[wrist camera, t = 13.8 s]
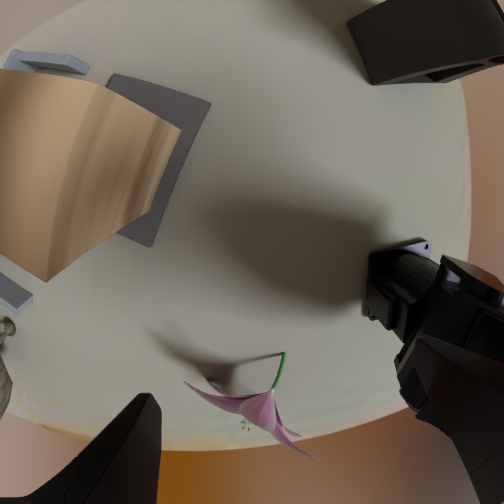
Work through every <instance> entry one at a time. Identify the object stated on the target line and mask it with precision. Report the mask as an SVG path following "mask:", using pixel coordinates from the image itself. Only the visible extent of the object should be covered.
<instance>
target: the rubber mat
mask: <svg viewBox="0 0 504 504" xmlns="http://www.w3.org/2000/svg"><path fill="white" fill-rule="evenodd" d="M107 89H109V90H111V91H113V92H115V93H117V94H119V95H121V96H123V97H124V98H126V99H128V100H130V101H132V102H134V103H135V104H137V105H139V106H141V107H143V108H144V109H146V110H148V111H150V112H151V113H153V114H155V115H157V116H158V117H160V118H162V119H164V120H165V121H167V122H169V123H170V124H172V125H174V126H175V127H177V128H179V129H180V130H182V131H181V133H180V135H179V137H178V140H177V142H176V144H175V146H174V149H173V151H172V153H171V156H170V158H169V160H168V163H167V165H166V168H165V170H164V172H163V175H162V177H161V180H160V183H159V185H158V188H157V190H156V193H155V196H154V198H153V201H152V204H151V207H150V210H149V211H148V212H147V213H145V214H143V215H142V216H140V217H138V218H137V219H135V220H134V221H132V222H131V223H129V224H127V225H126V226H124V227H123V228H121V229H120V230H118V231H117V232H116V233H118V234H120V235H122V236H125V237H127V238H129V239H131V240H134V241H136V242H138V243H140V244H143V245H145V246H147V247H151V246H152V244H153V241H154V238H155V236H156V233H157V230H158V227H159V224H160V221H161V219H162V216H163V213H164V211H165V208H166V205H167V203H168V200H169V198H170V195H171V193H172V190H173V188H174V185H175V183H176V180H177V178H178V175H179V173H180V171H181V168H182V166H183V164H184V161H185V159H186V157H187V155H188V152H189V150H190V148H191V146H192V144H193V141H194V139H195V137H196V135H197V133H198V131H199V129H200V127H201V124H202V122H203V120H204V118H205V116H206V114H207V112H208V110H209V108H210V106H211V103H210V102H207V101H204V100H202V99H199V98H196V97H193V96H190V95H188V94H185V93H182V92H179V91H176V90H173V89H170V88H166V87H163V86H160V85H157V84H153V83H150V82H146V81H143V80H139V79H135V78H131V77H128V76H123V75H119V74H115V73H114V75H113V77H112V79H111V81H110V83H109V85H108V87H107Z"/></svg>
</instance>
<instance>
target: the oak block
mask: <svg viewBox="0 0 504 504" xmlns="http://www.w3.org/2000/svg"><path fill="white" fill-rule="evenodd" d="M181 131H182V130H180V129H179V128H177V127H175V126H174V125H172V124H170V123H169V122H167V121H165V120H164V119H162V118H160V117H158V116H157V115H155V114H153V113H151V112H150V111H148V110H146V109H144V108H143V107H141V106H139V105H137V104H135V103H134V102H132V101H130V100H128V99H126V98H124V97H123V96H121V95H119V94H117V93H115V92H113V91H111V90H109V89H107V88H106V87H104V86H102V85H100V84H97V83H93V82H88V81H84V80H79V79H74V78H68V77H63V76H57V75H51V74H44V73H37V72H29V71H19V70H7V69H0V253H1V254H2V255H4V256H5V257H7V258H8V259H10V260H11V261H13V262H14V263H16V264H17V265H19V266H20V267H22V268H23V269H25V270H26V271H28V272H29V273H31V274H33V275H34V276H36V277H37V278H39V279H41V280H42V281H44V282H48V281H49V280H50V279H51V278H53V277H54V276H55V275H57V274H58V273H59V272H61V271H62V270H63V269H64V268H66V267H67V266H68V265H70V264H71V263H72V262H74V261H75V260H77V259H78V258H79V257H81V256H82V255H83V254H85V253H86V252H88V251H89V250H90V249H92V248H93V247H95V246H96V245H98V244H99V243H100V242H102V241H103V240H105V239H106V238H108V237H109V236H111V235H112V234H114V233H115V232H117V231H118V230H120V229H121V228H123V227H124V226H126V225H127V224H129V223H131V222H132V221H134V220H135V219H137V218H138V217H140V216H142V215H143V214H145V213H147V212H148V211H149V210H150V207H151V204H152V201H153V198H154V196H155V193H156V190H157V188H158V185H159V183H160V180H161V177H162V175H163V172H164V170H165V168H166V165H167V163H168V160H169V158H170V156H171V153H172V151H173V149H174V146H175V144H176V142H177V140H178V137H179V135H180V133H181Z"/></svg>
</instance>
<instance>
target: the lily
mask: <svg viewBox="0 0 504 504" xmlns="http://www.w3.org/2000/svg"><path fill="white" fill-rule="evenodd" d="M285 355H286V353H285V352H283V354H282V358H281V363H280V367H279V370H278V374H277V377H276V379H275V382H274V384H273V386H272V387H271V389H270V391H268V392H266V393H261V394H255V395H246V396H235V395H231V394H228V393H226V392H224V391H222V390H221V389H219V388H218V387H216V386H215V385H214V384H212V383H211V382H210V381H208V380H207V379H206V381H207V382H208V383H209V384H210V385H211V386H212V387H213V388H214V389H215V390H216V391H218V392H219V393H221V394H223V395H228V396H229V397H223V396H216V395H210V394H207V393H204V392H202V391H200V390H198V389H196V388H194V387H193V386H191V385H189V384H188V383H186V382H184V381H183V382H184V383H185V384H186V385H188V386H189V387H190V388H191V389H192V390H194V391H195V392H196V393H197V394H199V395H200V396H201V397H203V398H204V399H206V400H207V401H209V402H210V403H212V404H213V405H215V406H217V407H219V408H221V409H223V410H225V411H228V412H231V413H235V414H241V415H242V416H244V417H245V418H246V420H248V421H249V422H248V423H247V424H246V425H245V426H244V427H243V428H242V429H245V427H246V426H247V425H248V424H249V423H250V422H251V424H252V423H253V424H255V425H257V426H258V427H260V428H262V429H263V430H265V431H268V432H270V433H271V434H272V435H273V436H274V437H275V438H276V439H277V440H278V441H279V442H280V443H282V444H283V445H285V446H286V447H288V448H290V449H292V450H294V451H296V452H297V453H300V454H302V455H304V456H307V457H309V458H312V459H315V460H318V459H317V458H315V457H313V456H311V455H309V454H308V453H306V452H304V451H303V450H301V449H299V448H298V447H297V446H296V445H294V444H293V443H292V442H291V441H290V440H289V438H288V437H287V436H286V434H285V433H284V431H283V430H282V428H284V429H285V430H286V431H287V432H288V433H289V434H290V435H293V436H296V437H302V436H301V435H299V434H297V433H294V432H292V431H290V430H288V429H287V428H285V427H284V426H283V425H282V422H281V420H280V417H279V414H278V411H277V408H276V405H275V402H274V398H273V392H274V390H275V387H276V385H277V383H278V380H279V378H280V375H281V372H282V368H283V364H284V359H285ZM246 420H245V421H246ZM242 422H244V421H242ZM242 422H241V423H242ZM246 422H247V421H246ZM246 422H244V423H243V424H245V423H246ZM251 424H250V426H251ZM250 426H249V428H248V431H249V430H250ZM281 427H282V428H281Z"/></svg>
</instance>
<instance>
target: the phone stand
mask: <svg viewBox="0 0 504 504" xmlns="http://www.w3.org/2000/svg"><path fill="white" fill-rule="evenodd" d="M346 23H347V25H348V27H349V29H350V31H351V33H352V35H353V37H354V39H355V42H356V44H357V46H358V48H359V51H360V53H361V55H362V58H363V60H364V63H365V65H366V68H367V70H368V73H369V76H370V78H371V81H372V84H373V86H376V85H388V84H405V83H448V82H450V81H453V80H456V79H458V78H461V77H464V76H467V75H469V74H472V73H475V72H478V71H481V70H484V69H487V68H490V67H493V66H497V65H502V64H504V13H503V11H502V9H501V7H500V6H499V4H498V2H497V0H386V1H384V2H382V3H380V4H378V5H376V6H374V7H372V8H370V9H368V10H366V11H364V12H363V13H361V14H359V15H357V16H355V17H354V18H352V19H350V20H348V21H347V22H346Z"/></svg>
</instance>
